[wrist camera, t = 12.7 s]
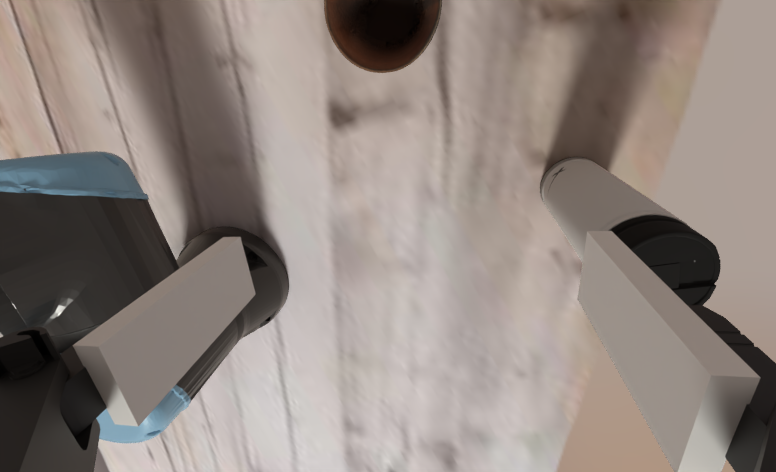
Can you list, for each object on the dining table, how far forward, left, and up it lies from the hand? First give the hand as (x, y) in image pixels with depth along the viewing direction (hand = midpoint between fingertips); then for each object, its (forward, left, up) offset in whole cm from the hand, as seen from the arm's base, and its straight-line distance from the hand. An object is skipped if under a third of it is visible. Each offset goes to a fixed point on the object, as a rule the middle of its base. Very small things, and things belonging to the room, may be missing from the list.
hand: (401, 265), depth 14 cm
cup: (-4, +11, -28) cm, 30 cm away
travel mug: (+14, -5, -28) cm, 32 cm away
